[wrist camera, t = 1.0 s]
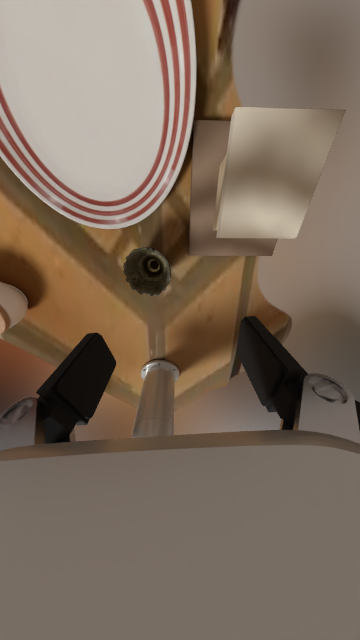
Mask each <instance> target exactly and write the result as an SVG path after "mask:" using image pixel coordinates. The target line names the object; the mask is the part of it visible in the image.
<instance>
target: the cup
mask: <svg viewBox="0 0 360 640" xmlns="http://www.w3.org/2000/svg"><path fill="white" fill-rule="evenodd" d="M126 260H127V261H126V262H125V263H124V266H123V268H124V274H125V275H126V276H127V277H126V281H127V282H129V283H130V286H131V288H132V289H133V290H134V291H137V292H138V293H139V294H143V293H146V294H150V296H153V295H159V294H160V293H161V292H162V291H165V289H166V286H168V284H169V282H170V279H171V272H170V271H171V269H170V266H169V263H168V261H167V259H166V258H165V256H164V255H163V254H162V253H160V252H159V251H157V250H155V249H151V248H146V247H142V248H138V249H135V250H133V251H132V252H131V253H130V255H129V256H127V257H126ZM152 261H156V262H157V263H158V268H157V269H152V268H151V266H150V263H151V262H152Z"/></svg>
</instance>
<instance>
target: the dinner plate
mask: <svg viewBox="0 0 360 640" xmlns="http://www.w3.org/2000/svg"><path fill="white" fill-rule="evenodd" d="M196 71H197V65H196V39H195V28H194V18H193V10H192V3H191V0H0V156H1V158H2V159H3V160H4V161H5V163H6V164H7V165H8V166H9V167H10V169H11V170H12V171H13V172H14V173H15V175H16V176H17V177H18V178H19V179H20V180H21V181H22V182H23V183H24V184H25V185H26V186H27V187H28V188H29V189H30V190H31V191H32V192H33V193H34V194H35V195H36V196H38V197H39V198H40V199H41V200H42V201H44V202H45V203H46V204H48V205H49V206H50V207H52V208H53V209H54V210H56V211H57V212H59V213H61V214H62V215H64V216H66V217H68V218H70V219H72V220H74V221H76V222H78V223H81V224H84V225H87V226H90V227H95V228H101V229H117V228H123V227H127V226H130V225H133V224H135V223H138V222H140V221H141V220H143V219H145V218H146V217H147V216H149V215H150V214H151V213H152V212H153V211H154V210H156V209H157V208H158V207H159V205H160V204H161V203H162V202H163V201H164V199H165V198H166V197H167V195H168V194H169V192H170V190H171V189H172V187H173V185H174V183H175V181H176V179H177V177H178V175H179V172H180V170H181V167H182V164H183V162H184V159H185V155H186V152H187V149H188V145H189V141H190V136H191V131H192V125H193V118H194V110H195V99H196Z"/></svg>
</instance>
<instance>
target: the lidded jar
mask: <svg viewBox="0 0 360 640" xmlns="http://www.w3.org/2000/svg"><path fill="white" fill-rule="evenodd" d="M27 310H28V300H27V298H26V296H25V295H24V294H23V292H21V291H20V290H19V289H18V288H16V287H14V286H12V285H9V284H5V283H2V282H0V334H2V333H3V332H5V331H7V330H8V329H9V328H11V327H12V326H14V325H16V324H17V323H18V322H20V321H21V320H22V319H23V318H24V316H25V315H26V313H27Z"/></svg>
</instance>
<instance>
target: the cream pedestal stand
mask: <svg viewBox="0 0 360 640" xmlns="http://www.w3.org/2000/svg"><path fill="white" fill-rule="evenodd" d="M344 113H345V110H333V109H294V108H253V107H236V108H235V110H234V112H233V114H232V117H231V121H214V120H194V125H193V142H192V171H191V199H190V227H189V255H205V256H272V254H273V251H274V248H275V245H276V242H277V239H278V238H296V237H297V235H298V232H299V230H300V227H301V224H302V222H303V219H304V217H305V214H306V211H307V209H308V206H309V204H310V201H311V198H312V196H313V193H314V191H315V188H316V185H317V183H318V180H319V178H320V175H321V173H322V170H323V167H324V165H325V162H326V159H327V157H328V154H329V152H330V149H331V147H332V144H333V141H334V139H335V136H336V134H337V131H338V129H339V126H340V123H341V121H342V118H343V116H344Z"/></svg>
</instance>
